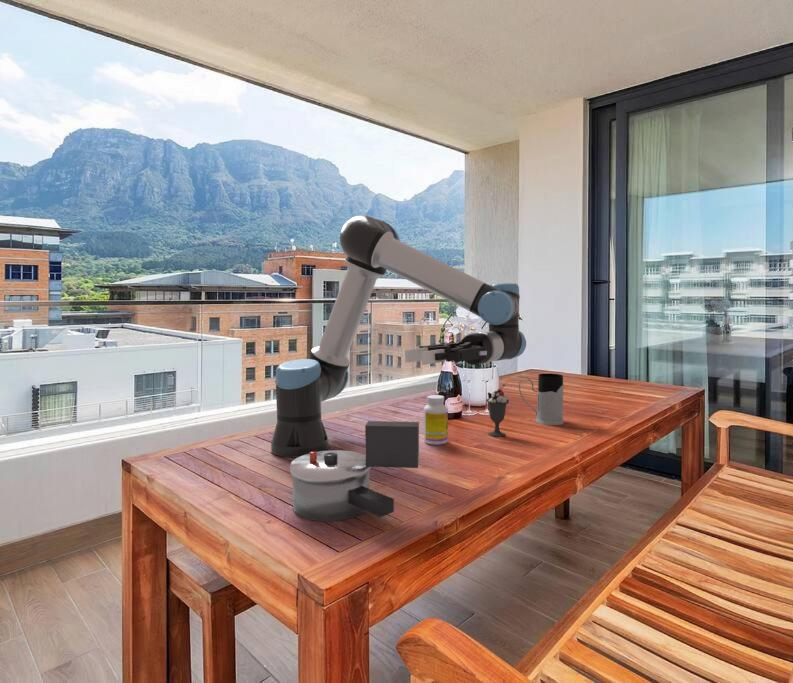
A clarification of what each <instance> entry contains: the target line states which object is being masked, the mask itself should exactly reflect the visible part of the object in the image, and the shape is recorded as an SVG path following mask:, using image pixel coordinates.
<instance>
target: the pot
mask: <svg viewBox="0 0 793 683" xmlns="http://www.w3.org/2000/svg"><path fill="white" fill-rule="evenodd" d="M291 478H292V479H291V482H292V484H291V485H292V510H293V512H294V513H295V514H296V515H297V516H299V517H300V518H302V519H306V520H310V521H313V522H340V521H344V520H345V521H346V520H348V519H349V520H350V519H352V518H355V517H358V516H360V515H362V514H363V513H365V512H368V513H370V514H372V515H373V516H377V517H379V518H382V517H385V516H388V515H390V514H393V513H394V512H395V504H394V502H395V501H394V500H395V499H394V498H393V497H390V496H388V495H386V494H384V493H380V492H378V491H376V490H373V489H371V488H370V471H369V472H368V473H367V474H366V475H364V476H362V477H360V478H358V479H354V480H351V481H346V482H340V483H328V484H321V483H310V482H305V481H301V480H298V479H296V478H295V477H293V476H292V475H291Z"/></svg>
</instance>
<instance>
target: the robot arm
mask: <svg viewBox="0 0 793 683" xmlns="http://www.w3.org/2000/svg"><path fill="white" fill-rule="evenodd" d="M339 242H340V246H341V248H342V250H343V252H344V253H345V254H346V256H345V258H344V262H345V265H346V268H347V269H346V272H345V275H344V278H343V280H342V282H341V286H340V289H339V291H338V294H337V296H336V299H335V302H334V305H333V306H332V310H331V312H330V316H329V317H328V321H327V323H326V326H325V328H324V331H323V334H322V337H321V339H320V342H319V344H318V346H315V347H313V348H311V350H310V353H309V356H308V358H302V359H301V358H299V359H294V360H288V361H285V362H282V363H281V364H279V365H277V368H276V370H275V379H274V384H275V395H276V399H275V400H276V426H275V428H274V431H273V434H272V439H271V443H270V448H271V449H270V450H271V453H272V452H273V454H274V455H276V456H279V457H284V458H287V457H288V458H298V457H300V456H303V455H306V454H310V452H311V451H316V452H320V451H328V449H329V445H330V444H329V436H328V435H327V430H326V428H325V426H324V423H323V421H322V403H323V402H325V401H327V400H331V399H332V398H335V397H337V396H338V395H340V394H341V393H342V392H343V391H344V390H345V388H346V387H347V385H348V382H349V371H348V369H349V366H350V363H351V362H350V359H349V357H348V355H349V353H350V350H351V347H352V344H353V342H354V339H355V336H356V334H357V332H358V329H359V326H360V325H361V324H360V323H361V321H362V318H363V316H364V313H365V310H366V307H367V305H368V303H369V301H370V298H371V295H372V292H373V290H374V288H375V285H376V281H377V280H378V279H379V278H382V277H384V276H385V274H386V272H387V271H389V272H391V273H393V274H394V275H397V276H398V277H401V278H403V279H405V280H407V281H409V282H411V283H412V284H414V285H417V286H419V287H421V288H423V289H425V290H426V291H429V292H431V293H433V294H434V295H436V296H438V297H441V298H442V299H444V300H446V301H448V302H450V303H452V304H455V305H456V306H459V307H460V308H462V309H464V310H466V311H468V312H470V313H472V314H473V315H476V316H478V317H480V318H481V319H482V321H483V322H485V323H487V324H488V331H482V332H481V331H480V332H474V333H473V332H472V333H468V334H466V335H464V336H463V338H462V339H461V340H459V341H455V342H449V343H446V342H442V343H439V344H438V343H437V344H430V345H421V346H419V347H418V348H416V347H415V348H410V349H409V348H408V349H405V350H404V363H408V364H409V363H413V362H421V365H422V366H425V365H432V364H439V363H445V362H448V363H449V362H452V361H453V362H455V363H461V362H465V363H466V364H468V365H471V366H475V365H477V366H478V365H482V364H485V365H490V363H492V362H498V361H504V360H512V359H515V358H518V357H520V356H521V355H522V354H524V352H525V350H526V347H527V340H526V338H525V337H526V336H525V335H524V333H523V332H521V330H520V323H519V321H520V319H519V317H520V315H519V314H520V312H519V311H520V298H521V296H520V286H519V285H518V284H517V283H507V282H506V283H492V284H487V283H486V282H484V281H482V280H479V279H478V278H475V277H474V276H471V275H469V274H467V273H465V272H464V271H461V270H460V269H457V268H455V267H453V266H452V265H449V264H447V263H445V262H443V261H442V260H439V259H437V258H435V257H433V256H432V255H431V256H430V255H428V254H427V253H425V252H423V251H421V250H419V249H417V248H415V247H413V246H410V244H407V243H405V242H403V241H401V240H400V237H399V234H398V231H396V229H395V228H394V227H393V226H392V225H391V224H389V223H388V222H386V221H385V220H380V219H377V218H374V217H372V216H370V215H367V214H366V215H363V214H361V215H360V214H359V215H355V216H353V217H350V219H348V220H347V221H345V223H344V224H343V226H342V227H341V230H340V234H339Z"/></svg>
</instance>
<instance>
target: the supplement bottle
mask: <svg viewBox="0 0 793 683" xmlns="http://www.w3.org/2000/svg"><path fill="white" fill-rule="evenodd" d="M444 403H445V396H444V395H439V394H432V395H427V404H426V405H425V406H424V407H423V441H424V442H425V444H428V445H431V446H432V445H434V446H436V445H437V446H439V445H440V446H441V445H444V444H446V443H447V442H448V440H449V438H448V437H449V434H448V433H449V430H448V428H449V426H448V425H449V423H448V422H449V418H448V416H449V412H448V407H447V405H445V404H444Z"/></svg>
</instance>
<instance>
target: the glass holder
mask: <svg viewBox="0 0 793 683" xmlns="http://www.w3.org/2000/svg"><path fill="white" fill-rule="evenodd" d="M537 379H538V382H537V383H538V384H537V385H538V386H537V387H538V389H537V390H536V389H535V390H534V382H533V380H531V379H530V378H527V377H524V378H521V379H520V381H519V384H518V390H519V391H518V392H519V394H520V397H521V399H522V401H523V402H524V403H525V404H526V405H527V406H528V407H530V408H531V409H532V411H534V412H535V415H536V419H535V423H537V424H540V425H545V426H546V425H547V426H561V425H563V424H564V423H565V421H564V418H563V415H564V375H563V374H559V373H539V374H538V378H537ZM523 380H528V381H529V382H530V383H531V390H532V392H535V393H537V397H536V398H537V407H536V408H537V409H535V408H534V407H533V406H532V405H531V404H529V403H528V401H526V399H525V397H523V394H522V391H521V382H522V381H523Z"/></svg>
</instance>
